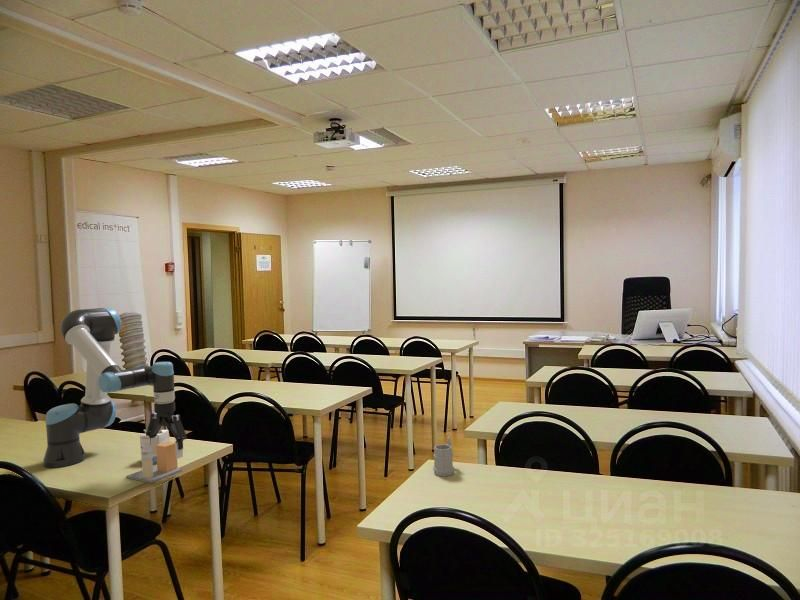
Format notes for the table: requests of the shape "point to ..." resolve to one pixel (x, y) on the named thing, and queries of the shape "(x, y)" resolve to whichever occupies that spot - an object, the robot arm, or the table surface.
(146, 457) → the ink box
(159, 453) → the peach carton
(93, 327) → the robot arm
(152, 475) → the post board
